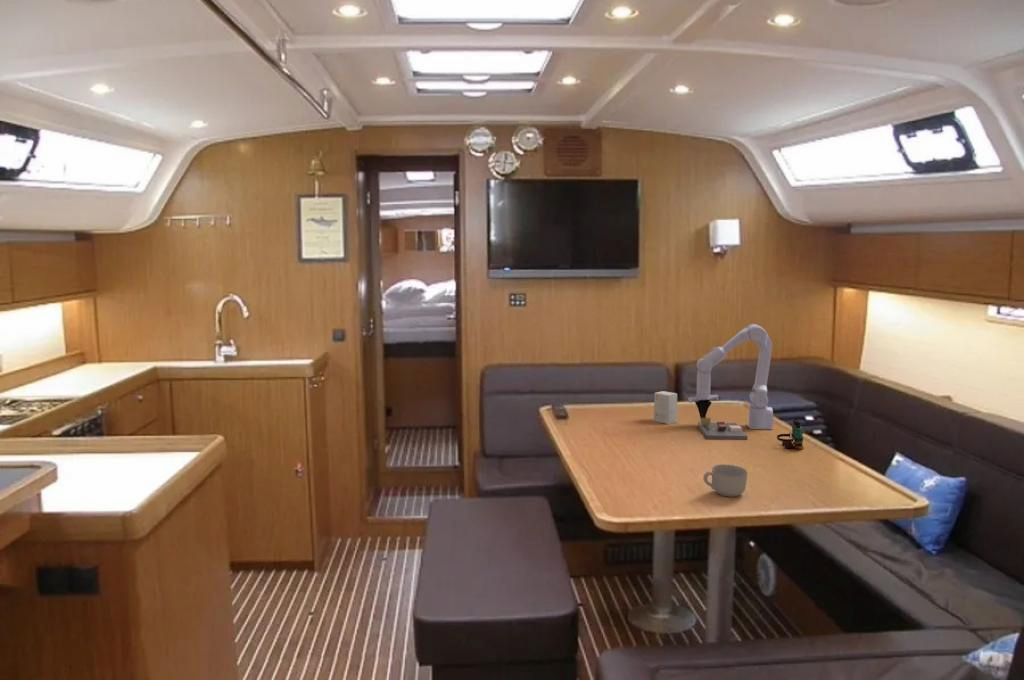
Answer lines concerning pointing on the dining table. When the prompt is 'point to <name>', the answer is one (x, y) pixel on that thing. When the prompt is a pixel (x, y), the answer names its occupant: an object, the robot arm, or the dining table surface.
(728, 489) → the teacup
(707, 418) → the block
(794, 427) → the figurine with basket
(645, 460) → the dining table surface
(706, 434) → the switch panel
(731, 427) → the push button
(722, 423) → the rocker switch
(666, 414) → the small box
